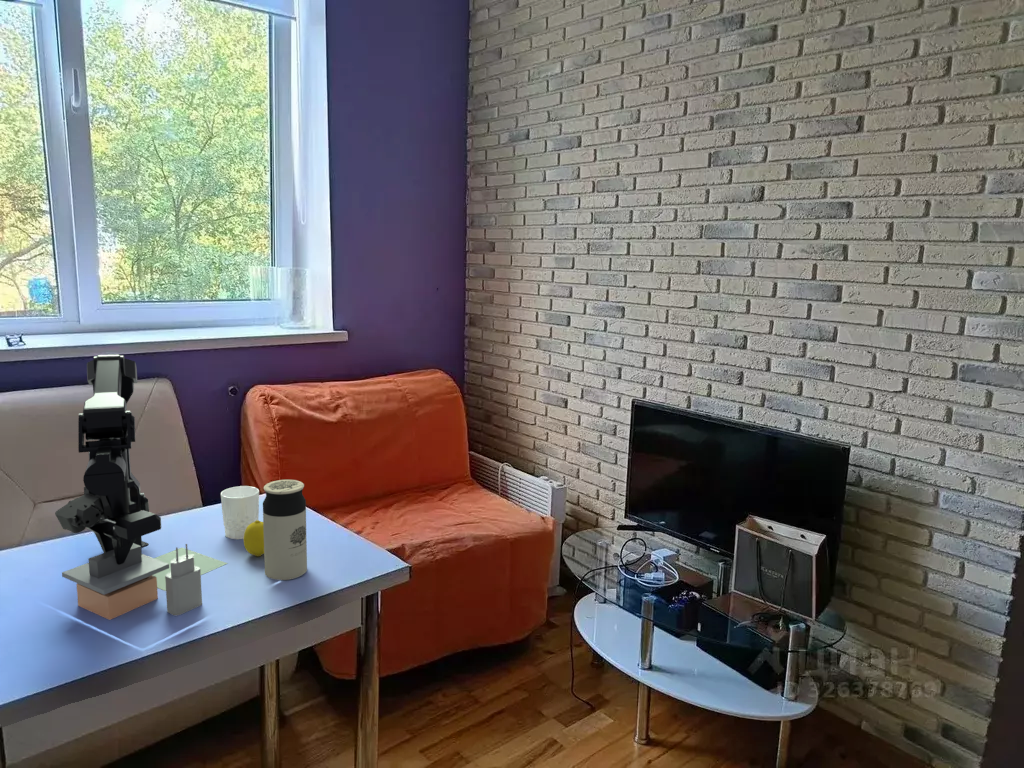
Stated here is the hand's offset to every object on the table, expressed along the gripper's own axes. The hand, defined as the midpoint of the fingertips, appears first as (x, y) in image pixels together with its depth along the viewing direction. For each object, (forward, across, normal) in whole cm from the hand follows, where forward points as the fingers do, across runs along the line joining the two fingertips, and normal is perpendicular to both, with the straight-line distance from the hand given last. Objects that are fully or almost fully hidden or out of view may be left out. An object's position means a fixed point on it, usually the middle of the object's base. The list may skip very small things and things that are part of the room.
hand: (115, 561), depth 127 cm
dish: (+8, 0, 0) cm, 8 cm away
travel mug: (+8, +15, +25) cm, 30 cm away
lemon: (+8, +5, +27) cm, 29 cm away
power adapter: (+8, +11, +5) cm, 15 cm away
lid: (+2, 0, 0) cm, 2 cm away
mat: (+8, -4, +14) cm, 17 cm away
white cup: (+8, -7, +33) cm, 35 cm away
